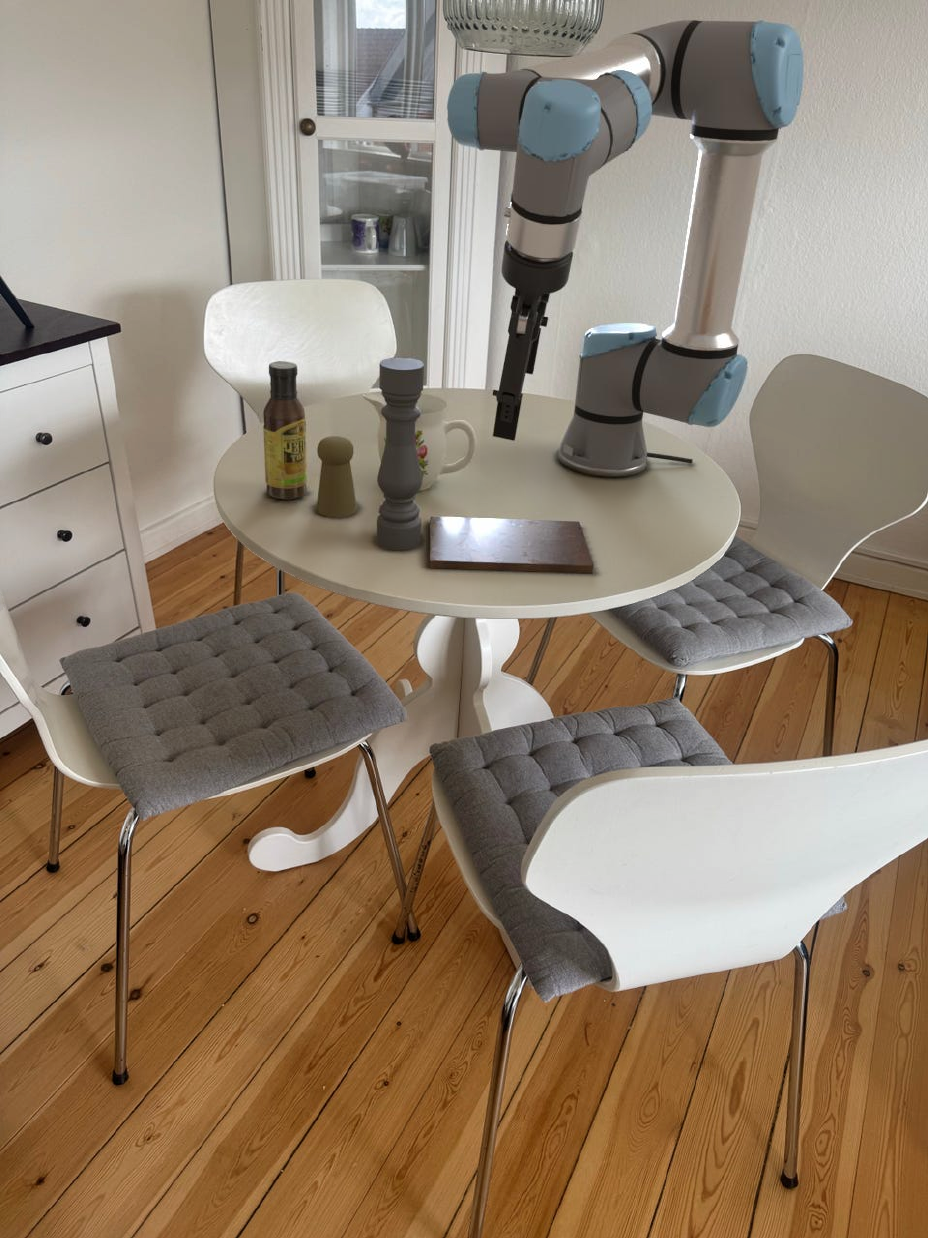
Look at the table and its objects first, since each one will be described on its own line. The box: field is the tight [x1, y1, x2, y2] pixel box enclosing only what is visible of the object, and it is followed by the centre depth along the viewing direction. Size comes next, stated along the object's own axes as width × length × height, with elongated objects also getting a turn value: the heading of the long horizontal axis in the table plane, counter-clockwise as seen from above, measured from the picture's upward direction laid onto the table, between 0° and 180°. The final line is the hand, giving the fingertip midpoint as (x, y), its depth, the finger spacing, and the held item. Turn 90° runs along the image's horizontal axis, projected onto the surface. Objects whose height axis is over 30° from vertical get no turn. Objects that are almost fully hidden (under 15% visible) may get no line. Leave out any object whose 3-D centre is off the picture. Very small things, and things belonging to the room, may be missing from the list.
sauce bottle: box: [262, 360, 308, 500], centre depth 136 cm, size 6×6×20 cm
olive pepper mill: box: [316, 435, 358, 518], centre depth 134 cm, size 6×6×11 cm
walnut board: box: [429, 515, 594, 574], centre depth 128 cm, size 22×14×1 cm, turn 92°
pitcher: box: [362, 392, 477, 492], centre depth 143 cm, size 11×18×14 cm, turn 83°
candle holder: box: [376, 357, 425, 552], centre depth 122 cm, size 6×6×25 cm
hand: (513, 402), depth 115 cm, fingers open, 13 cm apart
